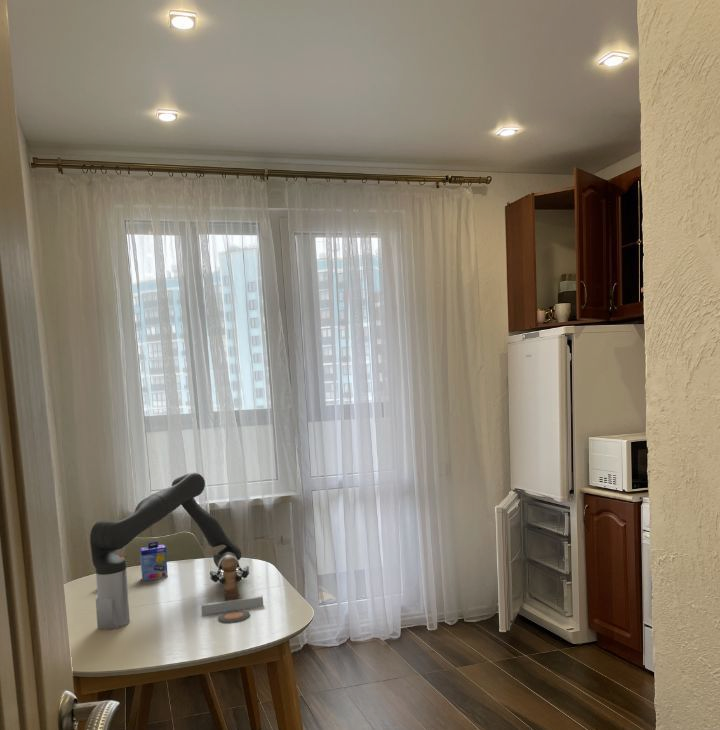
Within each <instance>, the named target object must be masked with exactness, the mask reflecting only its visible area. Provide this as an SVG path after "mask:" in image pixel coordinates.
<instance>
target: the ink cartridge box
mask: <svg viewBox="0 0 720 730" xmlns="http://www.w3.org/2000/svg"><path fill="white" fill-rule="evenodd" d="M139 550H140V551H139V553H140V555H139V556H140V571H141V579H142V582H146V581H152V580H156V579H164V578H168V577H169V574H168V564H167V562H168V560H167V557H168V555H167V546H166V545H165V544H159V542H158V541H157V540H156V541H153V542H148V546H145V547H140V548H139Z"/></svg>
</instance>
